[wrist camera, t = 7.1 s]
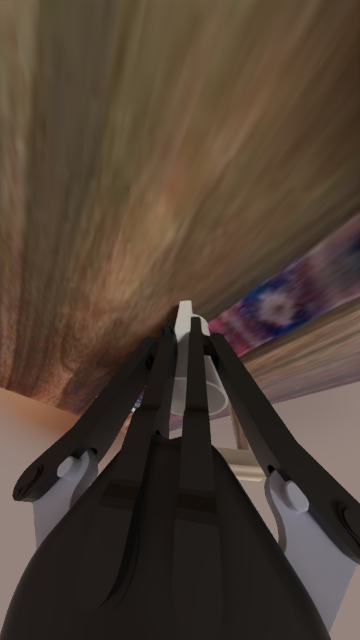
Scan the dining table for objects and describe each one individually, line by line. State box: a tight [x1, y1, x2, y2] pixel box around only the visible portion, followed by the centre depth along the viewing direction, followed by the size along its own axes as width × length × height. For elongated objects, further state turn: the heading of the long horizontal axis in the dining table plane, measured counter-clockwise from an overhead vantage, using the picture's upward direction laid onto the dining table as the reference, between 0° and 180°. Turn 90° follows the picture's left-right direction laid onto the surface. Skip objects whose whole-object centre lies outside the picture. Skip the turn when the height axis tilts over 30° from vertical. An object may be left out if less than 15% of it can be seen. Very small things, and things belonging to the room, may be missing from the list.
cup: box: [170, 314, 229, 416], centre depth 18 cm, size 8×8×12 cm
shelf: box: [216, 398, 266, 481], centre depth 23 cm, size 8×16×15 cm, turn 98°
